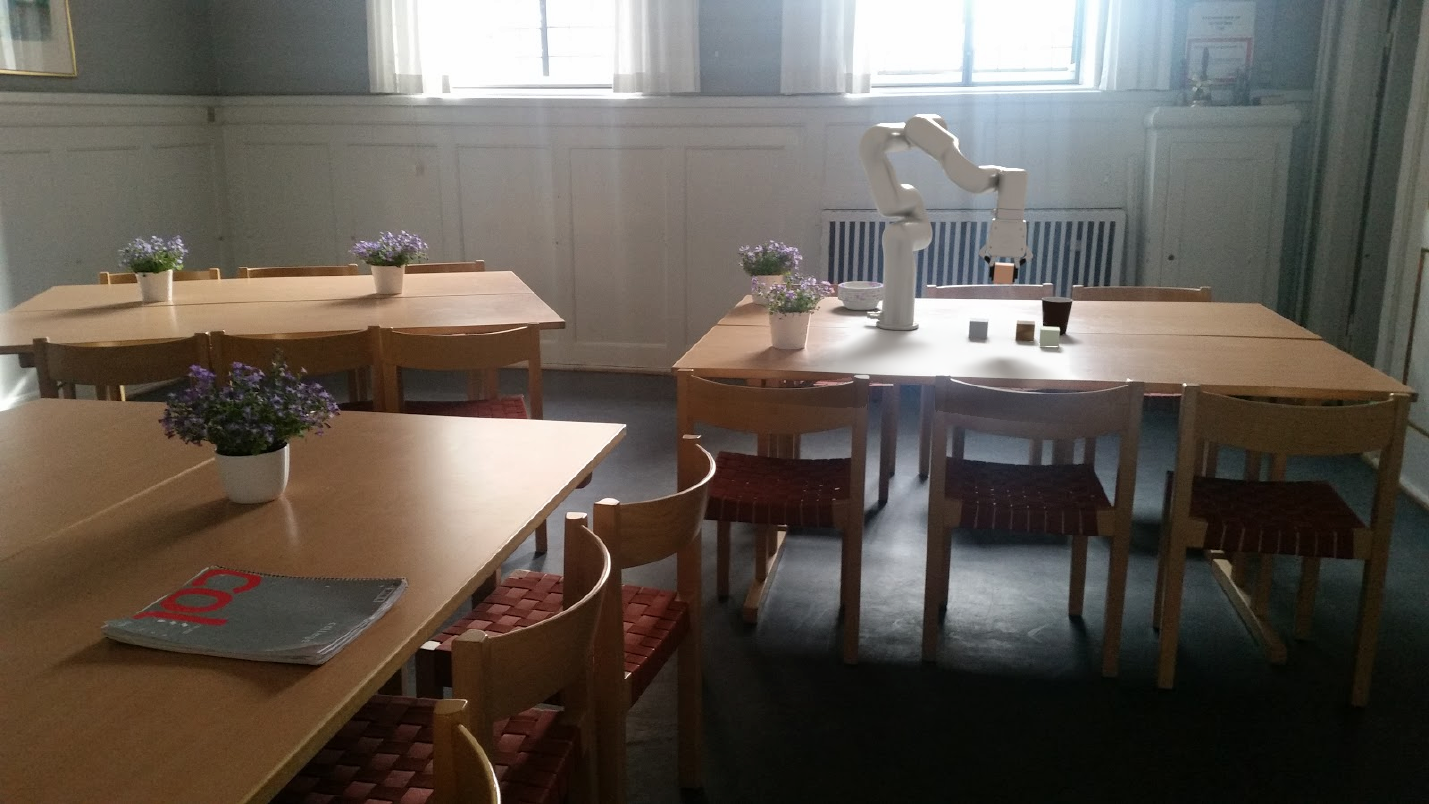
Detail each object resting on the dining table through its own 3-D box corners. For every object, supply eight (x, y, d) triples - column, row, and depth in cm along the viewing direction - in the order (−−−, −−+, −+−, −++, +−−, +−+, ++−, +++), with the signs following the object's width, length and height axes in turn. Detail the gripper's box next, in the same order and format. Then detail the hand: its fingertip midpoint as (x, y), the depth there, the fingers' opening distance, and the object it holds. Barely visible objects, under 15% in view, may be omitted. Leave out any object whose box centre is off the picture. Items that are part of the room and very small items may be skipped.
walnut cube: (1015, 340, 315) (1016, 323, 313) (1015, 337, 319) (1016, 320, 318) (1033, 341, 313) (1035, 324, 312) (1033, 338, 318) (1035, 321, 317)
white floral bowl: (828, 306, 367) (829, 282, 364) (867, 302, 373) (868, 279, 371) (852, 313, 353) (853, 289, 351) (892, 310, 359) (894, 286, 357)
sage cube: (1039, 347, 307) (1040, 329, 305) (1039, 343, 311) (1040, 326, 310) (1058, 348, 305) (1059, 330, 304) (1057, 344, 310) (1059, 327, 309)
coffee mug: (1063, 337, 319) (1066, 303, 317) (1034, 333, 324) (1037, 299, 322) (1077, 331, 328) (1080, 297, 326) (1049, 327, 333) (1052, 294, 331)
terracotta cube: (993, 283, 306) (995, 265, 304) (993, 280, 310) (995, 262, 309) (1011, 284, 304) (1013, 266, 303) (1012, 281, 309) (1014, 263, 308)
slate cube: (968, 338, 318) (969, 321, 317) (969, 334, 323) (970, 317, 321) (986, 339, 317) (987, 322, 315) (987, 335, 321) (988, 318, 320)
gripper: (977, 214, 301) (970, 280, 306) (1042, 218, 297) (1034, 285, 302) (978, 211, 308) (972, 276, 313) (1041, 215, 304) (1034, 280, 309)
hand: (1003, 280), depth 307 cm, fingers closed on terracotta cube, 5 cm apart
